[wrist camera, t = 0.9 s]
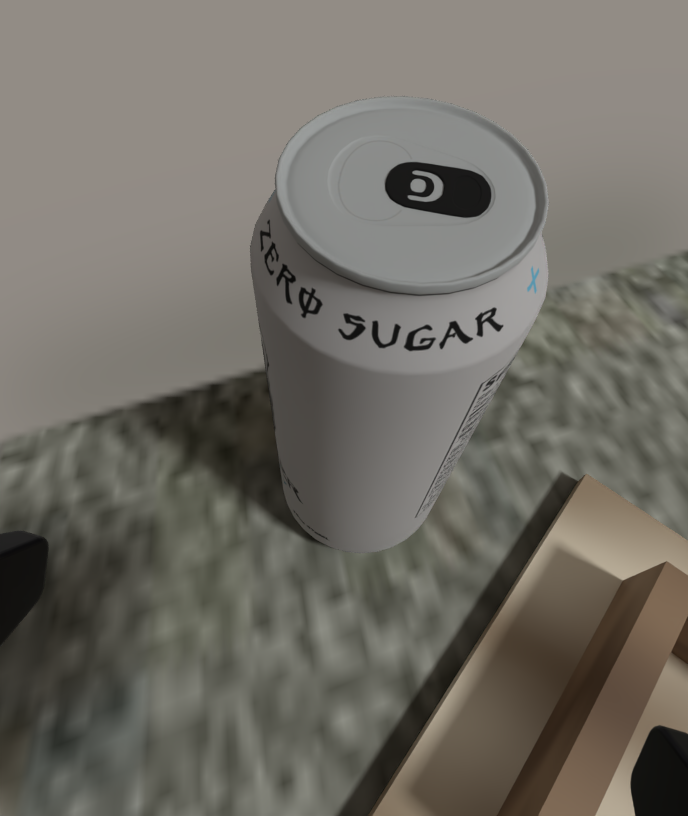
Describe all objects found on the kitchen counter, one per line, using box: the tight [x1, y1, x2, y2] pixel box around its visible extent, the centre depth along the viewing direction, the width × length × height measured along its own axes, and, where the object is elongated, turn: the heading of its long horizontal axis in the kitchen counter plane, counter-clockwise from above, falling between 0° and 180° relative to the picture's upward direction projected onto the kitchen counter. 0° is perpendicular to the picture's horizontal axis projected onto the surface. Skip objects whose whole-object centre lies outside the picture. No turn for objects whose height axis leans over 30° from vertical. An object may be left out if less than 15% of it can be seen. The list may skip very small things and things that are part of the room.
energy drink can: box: [250, 96, 549, 553], centre depth 17 cm, size 6×6×15 cm
